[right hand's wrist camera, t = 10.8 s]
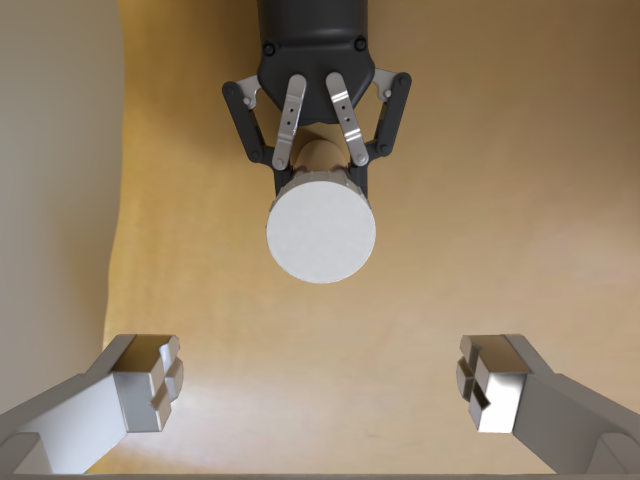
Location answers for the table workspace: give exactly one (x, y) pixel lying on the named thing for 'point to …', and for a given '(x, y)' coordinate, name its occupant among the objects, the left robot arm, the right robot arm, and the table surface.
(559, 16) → the table surface
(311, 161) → the tan cylinder
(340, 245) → the lid
